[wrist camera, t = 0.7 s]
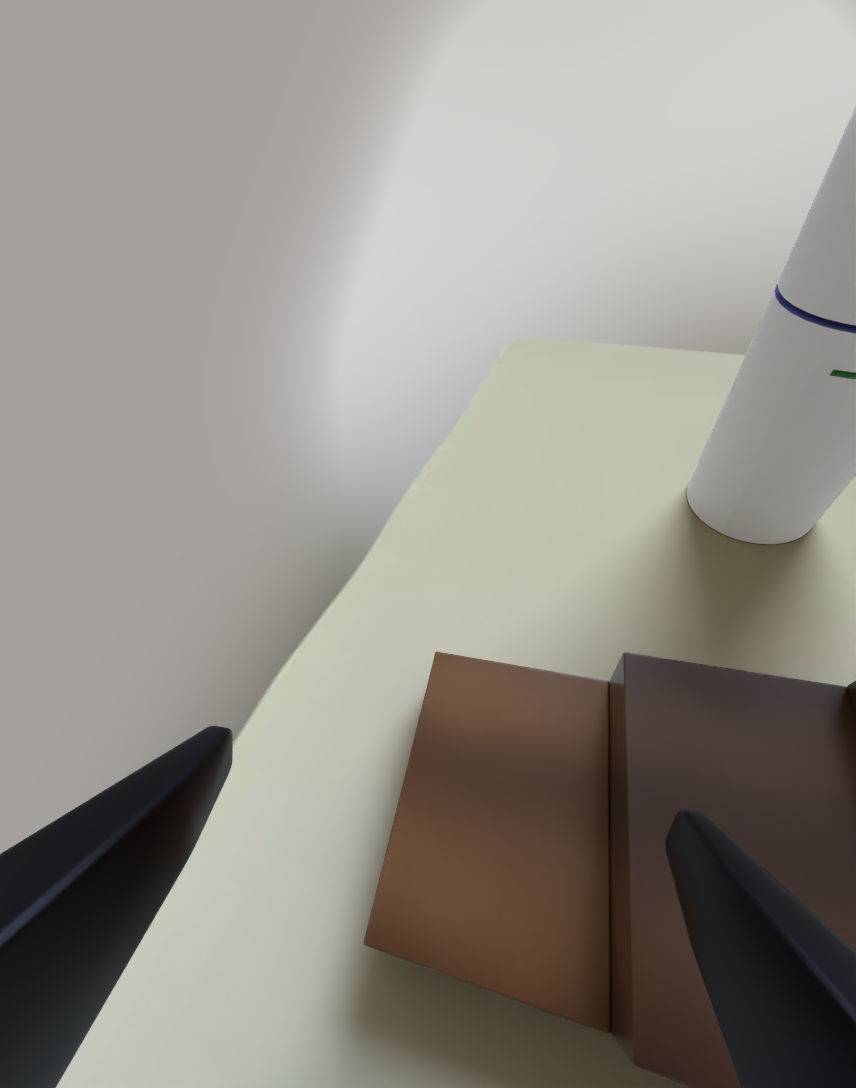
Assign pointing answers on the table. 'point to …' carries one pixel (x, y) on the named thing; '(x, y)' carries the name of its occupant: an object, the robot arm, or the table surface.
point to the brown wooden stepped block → (609, 835)
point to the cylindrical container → (793, 385)
